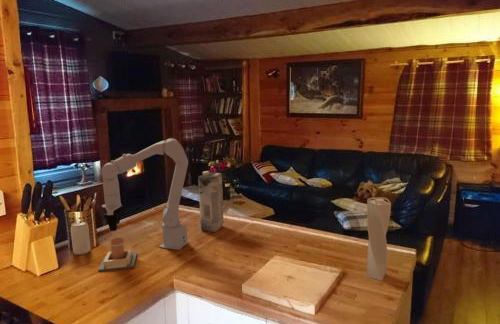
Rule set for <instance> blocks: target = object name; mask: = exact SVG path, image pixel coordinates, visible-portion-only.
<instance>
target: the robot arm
mask: <svg viewBox="0 0 500 324" xmlns="http://www.w3.org/2000/svg"><path fill="white" fill-rule="evenodd" d="M165 154H166V155H167V156H169V158H171V159H172V160H173V162H174V163H175V166H174V171H173V175H172V180H171V185H170V190H169V194H168V198H167V202H166V206H165V207H164V208H163V209H162V223H161V229H162V241H163V242H162V243H161V244H160V245H159V246H158V248H163V249H168V250H169V249H170V250H179V251H180V250H181V249H182V248H183V247H185V246H186V245H188V244H189V241H188V230H187V226H185V225H184V224H183V225H182V224H181V222H180V217H179V212H180V211H179V210H180V202H181V197H182V193H183V188H184V183H185V179H186V176H187V171H188V166H189V160H188V157H187V154H186V152H185V150H184V147H183V146H182V144H181V143H180V142H179V141H178V140H177V139H176V138H173V137H170V138H167V139H165V140H161V141H159V142H156V143H154V144H152V145H150V146H148V147H146V148H144V149H142V150H140V151H138V152H137V153H134V154H131V153H127V154H126V153H123V154H122V156H119V157H118V158H115V160H114V159H112V160H110V162H106V163H105V164H104V165H103V166H102V167H101V169H100V175H101V177H102V186H103V195H104V196H103V198H104V204H102V205H101V208H103V209H104V208H105V210H106V212H105V213H103V218H104V219H105V220H106V222H107V225H108V228H109V230H110V232H114V231H116V232H117V229H118V225H119V224H120V222H121V214H122V209H123V207H124V205H122V203H121V194H120V182H119V179H118V175H122V174H123V173H125V172H128V171H129V170H132V169H134V168H136V167H137V164H138V162H141V161H143V160H145V159H147V158H150V157H152V156H155V155H161V156H163V155H165Z"/></svg>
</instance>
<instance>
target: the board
mask: <svg viewBox="0 0 500 324" xmlns="http://www.w3.org/2000/svg"><path fill="white" fill-rule="evenodd" d="M137 255H138V252H133V250H132V249H124V257H125V258H124V259H114V260H112V252H111V251H107V253H106V255H104V256H103V259H102V261H101V263H100V265H99V267H98V272H107V271H108V272H109V271H110V272H111V271H118V270H127V269H134V268H135V264H136V260H137V257H138V256H137Z"/></svg>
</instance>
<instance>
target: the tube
mask: <svg viewBox="0 0 500 324" xmlns="http://www.w3.org/2000/svg"><path fill="white" fill-rule="evenodd" d="M124 247H125V246H124V239H123V238H121V237H116V238H113V239H111V240H110V250H111V251H110V252H112V260H114V259H124V258H125V257H124V250H125V248H124Z"/></svg>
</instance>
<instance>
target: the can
mask: <svg viewBox="0 0 500 324" xmlns="http://www.w3.org/2000/svg"><path fill="white" fill-rule="evenodd" d="M83 221H84V220H83ZM76 222H77V221H75V222H72V223H71V226H70V236H71V244H72V245H71V246H72V253H73V254H74V255H77V256H81V255H85V254H88V253H90V251H91V240H90V239H91V238H90V230H89V224H88V223H87V221H84V222H81V223H76Z"/></svg>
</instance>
